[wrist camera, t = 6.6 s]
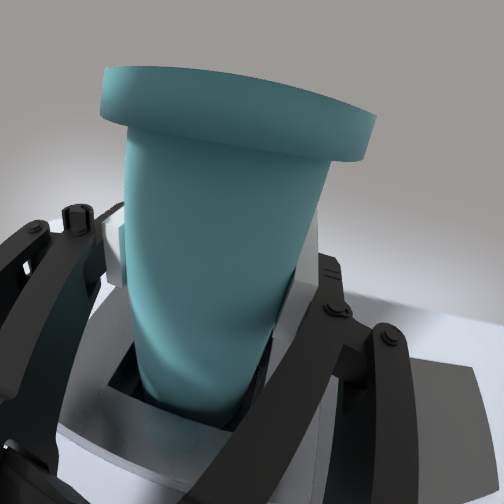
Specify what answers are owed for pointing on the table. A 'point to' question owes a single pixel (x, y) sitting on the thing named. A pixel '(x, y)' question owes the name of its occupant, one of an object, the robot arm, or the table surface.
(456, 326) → the table surface
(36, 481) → the robot arm
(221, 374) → the teal capped cylinder
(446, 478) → the mat
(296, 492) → the housing
